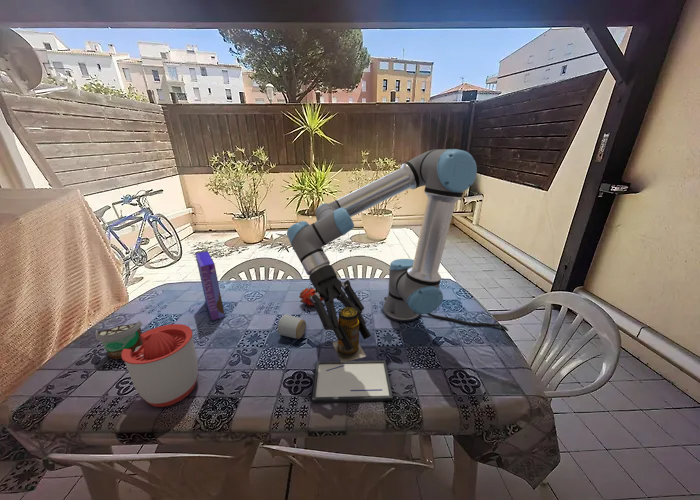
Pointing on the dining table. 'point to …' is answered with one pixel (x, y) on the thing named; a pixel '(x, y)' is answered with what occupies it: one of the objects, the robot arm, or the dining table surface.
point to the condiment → (349, 335)
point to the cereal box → (210, 284)
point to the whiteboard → (351, 381)
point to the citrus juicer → (163, 365)
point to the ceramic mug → (291, 326)
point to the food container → (120, 339)
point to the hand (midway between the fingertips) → (359, 343)
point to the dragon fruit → (308, 296)
